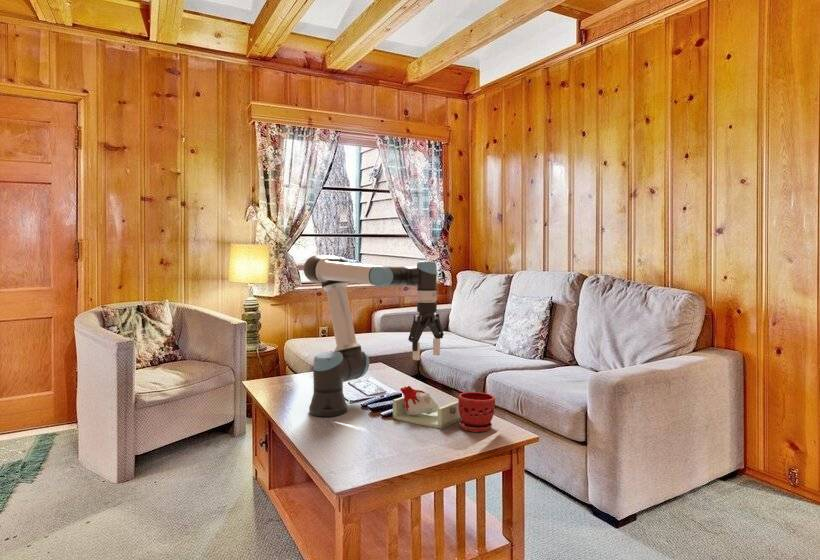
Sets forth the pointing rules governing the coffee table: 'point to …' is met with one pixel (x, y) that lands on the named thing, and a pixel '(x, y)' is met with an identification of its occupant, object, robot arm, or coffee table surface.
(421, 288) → the robot arm
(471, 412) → the plant pot
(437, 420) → the holder
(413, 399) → the candle
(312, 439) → the coffee table surface
